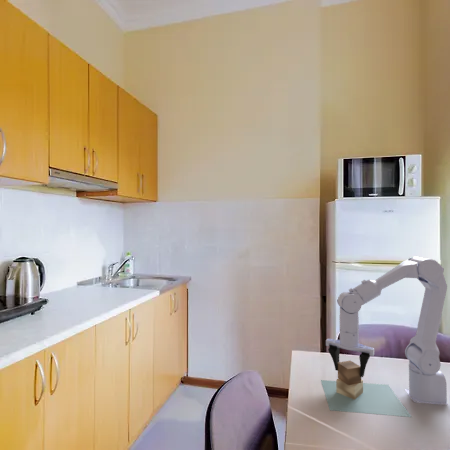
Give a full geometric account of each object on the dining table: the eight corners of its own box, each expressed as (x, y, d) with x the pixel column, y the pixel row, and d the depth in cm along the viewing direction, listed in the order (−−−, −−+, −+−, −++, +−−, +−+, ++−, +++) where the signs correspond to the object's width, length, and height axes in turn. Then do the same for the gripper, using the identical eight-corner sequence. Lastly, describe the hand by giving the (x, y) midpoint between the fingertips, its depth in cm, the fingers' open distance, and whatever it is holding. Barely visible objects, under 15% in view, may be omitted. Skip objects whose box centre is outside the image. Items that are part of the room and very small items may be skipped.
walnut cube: (361, 382, 98) (361, 366, 98) (348, 385, 96) (348, 369, 97) (350, 375, 103) (350, 360, 103) (337, 377, 101) (337, 362, 101)
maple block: (363, 392, 100) (362, 380, 100) (354, 399, 96) (354, 386, 96) (345, 385, 104) (344, 373, 104) (336, 392, 100) (336, 379, 100)
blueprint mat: (388, 385, 104) (388, 384, 104) (411, 418, 87) (411, 416, 87) (320, 381, 108) (320, 380, 108) (330, 411, 90) (330, 410, 90)
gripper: (376, 331, 99) (376, 373, 99) (330, 323, 107) (330, 362, 107) (371, 337, 93) (371, 382, 93) (323, 328, 102) (324, 369, 102)
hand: (349, 372), depth 100 cm, fingers open, 7 cm apart
